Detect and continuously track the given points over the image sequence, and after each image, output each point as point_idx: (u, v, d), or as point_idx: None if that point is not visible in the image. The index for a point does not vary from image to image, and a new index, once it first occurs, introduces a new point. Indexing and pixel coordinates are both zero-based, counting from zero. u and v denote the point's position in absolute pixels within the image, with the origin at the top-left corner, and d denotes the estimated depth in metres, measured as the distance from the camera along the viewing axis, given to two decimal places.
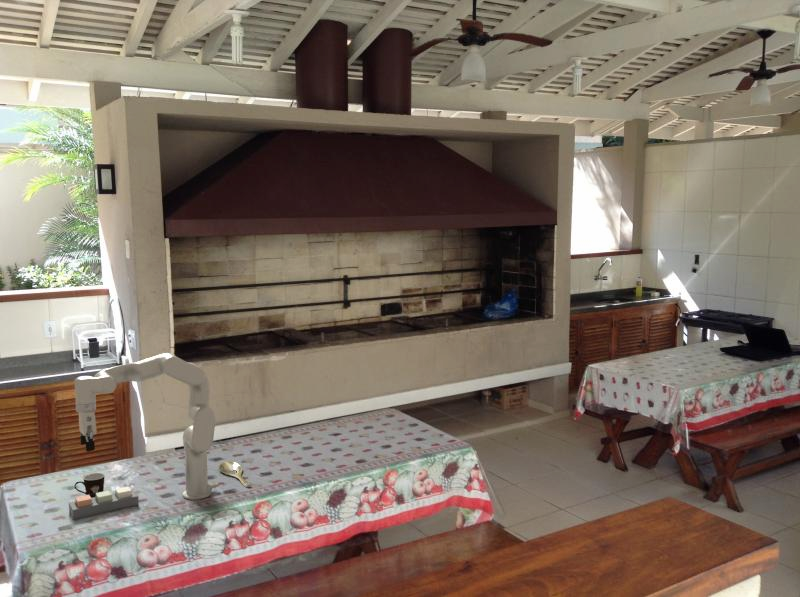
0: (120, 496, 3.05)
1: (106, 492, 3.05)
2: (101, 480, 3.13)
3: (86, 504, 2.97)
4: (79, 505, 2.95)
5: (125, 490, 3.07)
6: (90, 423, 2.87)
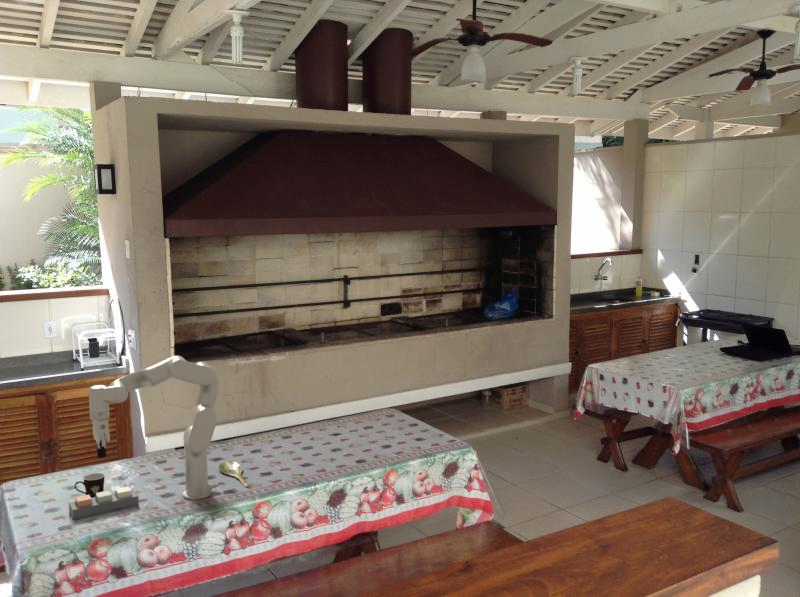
0: (120, 496, 3.05)
1: (106, 492, 3.05)
2: (101, 480, 3.13)
3: (86, 504, 2.97)
4: (79, 505, 2.95)
5: (125, 490, 3.07)
6: (104, 431, 2.96)
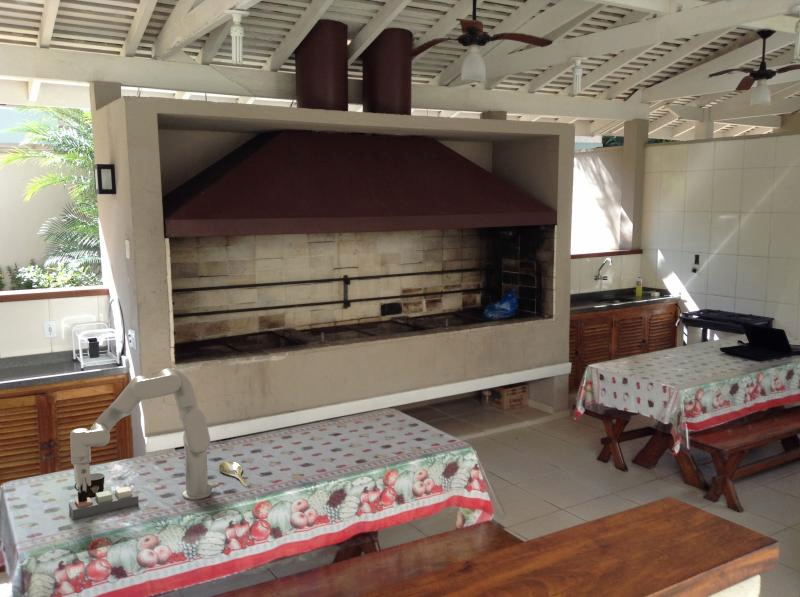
0: (120, 496, 3.05)
1: (106, 492, 3.05)
2: (101, 480, 3.13)
3: None
4: None
5: (125, 490, 3.07)
6: (85, 475, 2.93)
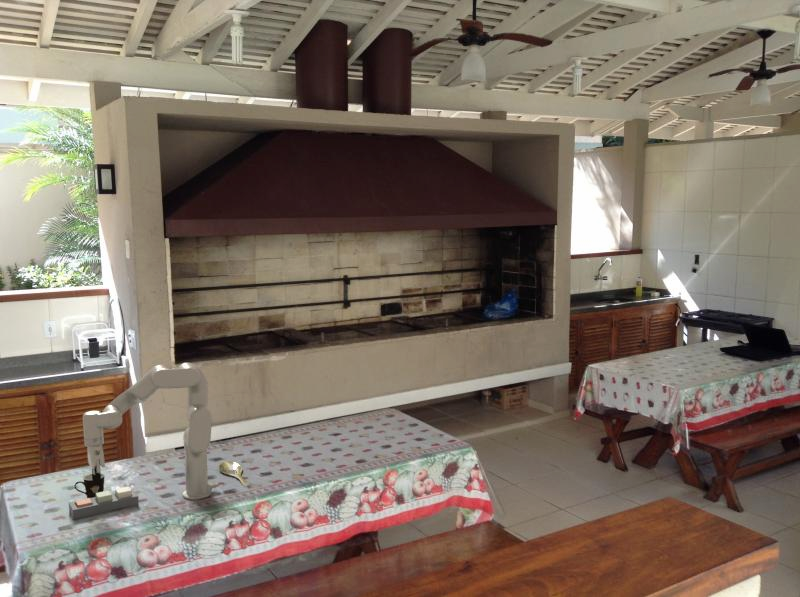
0: (120, 496, 3.05)
1: (106, 492, 3.05)
2: (101, 480, 3.13)
3: None
4: None
5: (125, 490, 3.07)
6: (98, 457, 2.96)
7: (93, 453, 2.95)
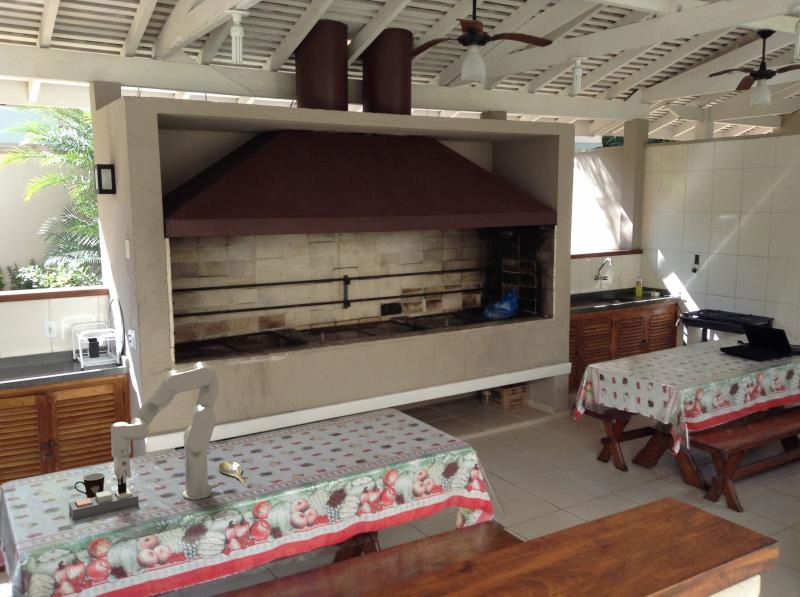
0: None
1: (106, 492, 3.05)
2: (101, 480, 3.13)
3: None
4: None
5: (125, 493, 3.07)
6: (125, 467, 3.02)
7: (120, 464, 3.01)
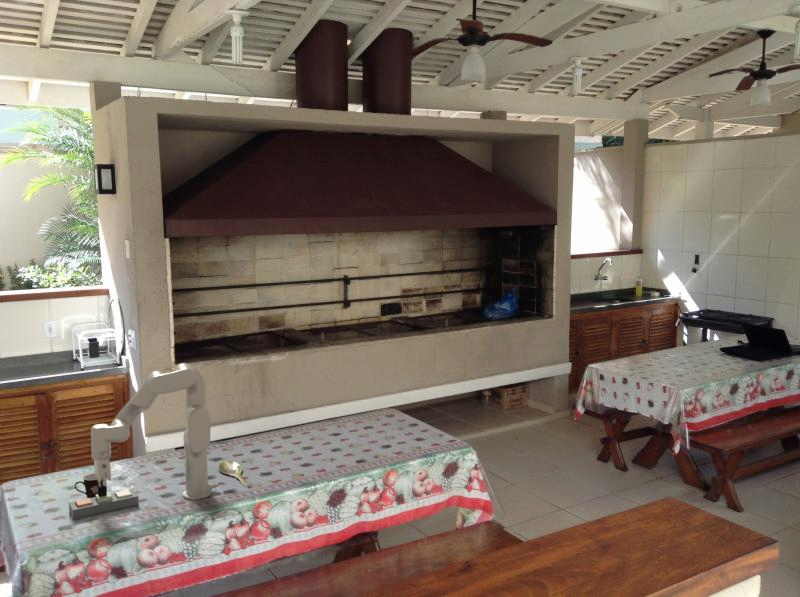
0: None
1: None
2: None
3: None
4: None
5: (125, 493, 3.07)
6: (105, 470, 2.98)
7: (100, 466, 2.97)
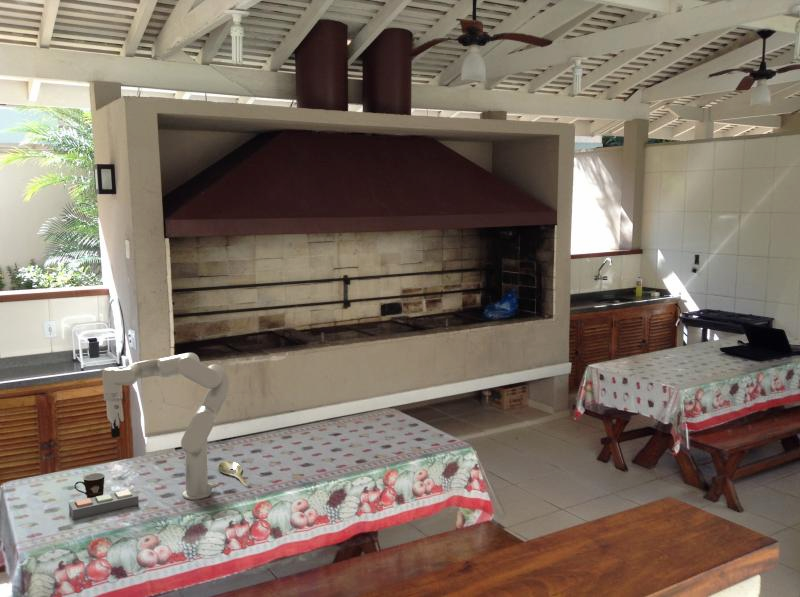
0: None
1: (106, 495, 3.05)
2: (101, 480, 3.13)
3: None
4: None
5: (125, 493, 3.07)
6: (117, 411, 3.07)
7: (112, 407, 3.06)
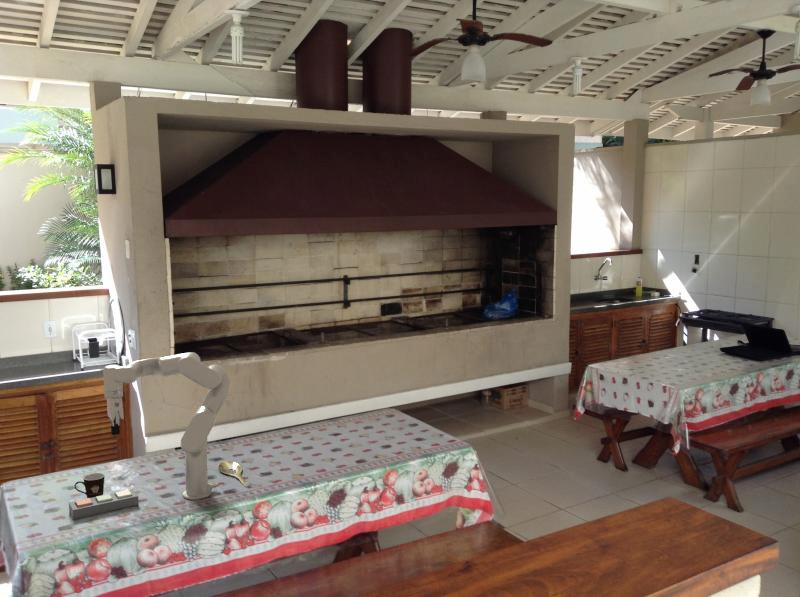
0: None
1: (106, 495, 3.05)
2: (101, 480, 3.13)
3: None
4: None
5: (125, 493, 3.07)
6: (118, 409, 3.07)
7: (113, 405, 3.06)
